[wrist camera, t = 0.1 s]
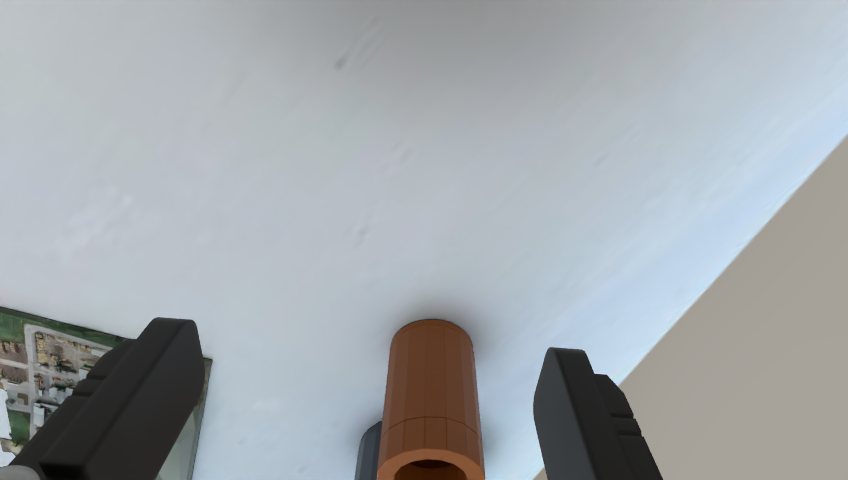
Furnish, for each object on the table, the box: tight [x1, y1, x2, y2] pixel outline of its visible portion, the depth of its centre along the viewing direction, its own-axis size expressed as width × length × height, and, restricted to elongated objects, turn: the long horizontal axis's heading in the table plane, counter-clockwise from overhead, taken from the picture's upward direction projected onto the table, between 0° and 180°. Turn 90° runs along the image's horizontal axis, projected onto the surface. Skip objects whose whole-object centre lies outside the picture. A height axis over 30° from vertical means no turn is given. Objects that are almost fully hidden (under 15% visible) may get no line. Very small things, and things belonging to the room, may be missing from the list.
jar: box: [377, 320, 485, 480], centre depth 31 cm, size 6×6×10 cm
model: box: [0, 307, 212, 480], centre depth 38 cm, size 21×30×2 cm
